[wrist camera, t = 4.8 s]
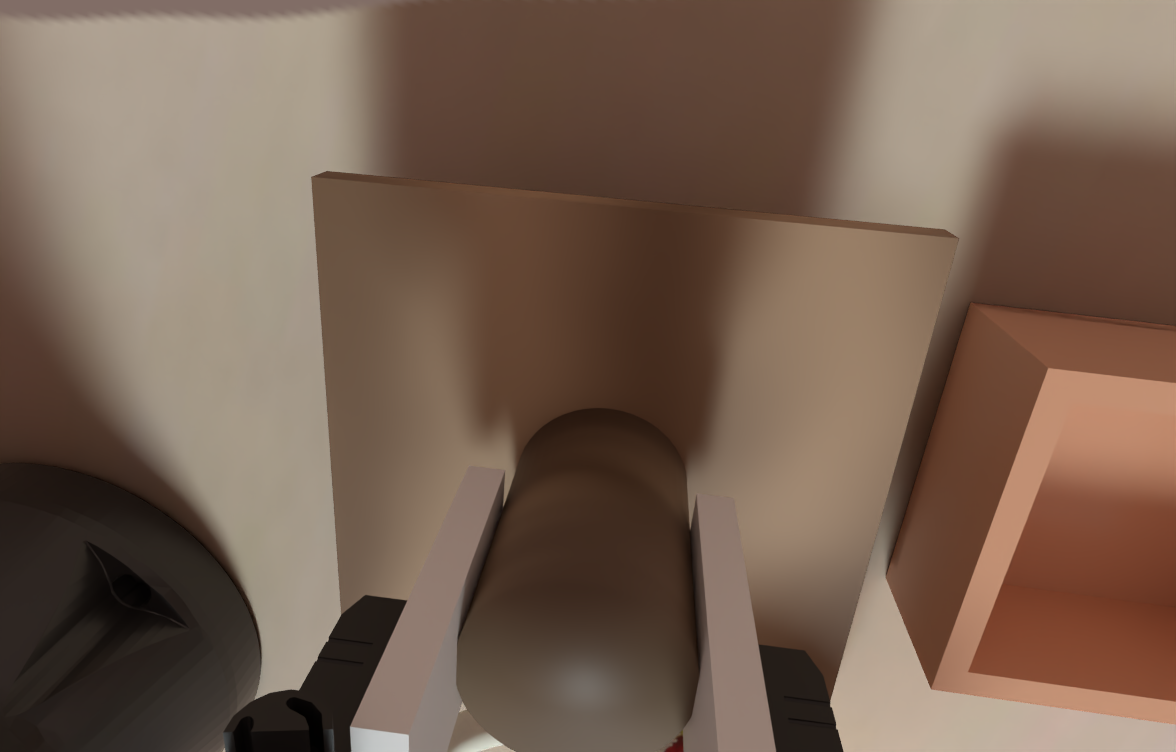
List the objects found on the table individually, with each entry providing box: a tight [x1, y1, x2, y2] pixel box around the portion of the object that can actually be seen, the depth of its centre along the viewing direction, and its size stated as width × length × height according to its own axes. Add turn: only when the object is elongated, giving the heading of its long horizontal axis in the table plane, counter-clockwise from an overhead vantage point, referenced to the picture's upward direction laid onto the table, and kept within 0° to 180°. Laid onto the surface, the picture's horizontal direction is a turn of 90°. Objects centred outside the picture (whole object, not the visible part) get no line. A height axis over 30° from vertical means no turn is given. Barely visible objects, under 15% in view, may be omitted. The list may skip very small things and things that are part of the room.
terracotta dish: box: [886, 302, 1176, 724], centre depth 22 cm, size 10×10×5 cm
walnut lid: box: [311, 171, 959, 752], centre depth 15 cm, size 13×13×7 cm
